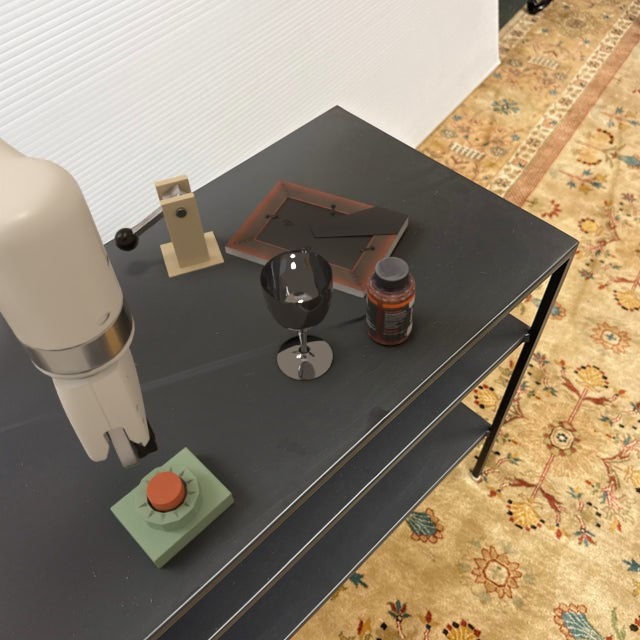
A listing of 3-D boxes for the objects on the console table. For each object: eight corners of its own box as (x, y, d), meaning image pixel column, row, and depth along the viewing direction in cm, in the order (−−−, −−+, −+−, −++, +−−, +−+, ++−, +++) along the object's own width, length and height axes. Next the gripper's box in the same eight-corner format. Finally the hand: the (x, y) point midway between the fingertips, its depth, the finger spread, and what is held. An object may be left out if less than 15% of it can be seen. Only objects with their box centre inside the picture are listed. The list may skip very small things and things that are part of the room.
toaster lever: (128, 259, 88) (110, 247, 86) (124, 244, 90) (107, 232, 88) (195, 207, 86) (179, 193, 83) (190, 193, 88) (174, 179, 85)
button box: (159, 569, 65) (149, 555, 62) (115, 516, 69) (104, 500, 66) (234, 502, 70) (229, 485, 67) (189, 455, 74) (182, 438, 70)
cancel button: (164, 518, 65) (159, 511, 64) (143, 495, 67) (139, 487, 65) (192, 494, 67) (188, 487, 65) (171, 472, 68) (167, 464, 67)
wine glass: (277, 387, 79) (263, 307, 67) (270, 337, 84) (256, 255, 73) (341, 377, 80) (338, 296, 68) (330, 328, 85) (326, 245, 73)
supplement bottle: (421, 333, 83) (428, 272, 75) (384, 355, 81) (388, 295, 73) (392, 305, 87) (396, 243, 78) (356, 325, 85) (356, 264, 76)
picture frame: (407, 227, 96) (281, 191, 103) (408, 214, 94) (279, 178, 101) (362, 303, 87) (227, 257, 94) (363, 290, 85) (224, 245, 92)
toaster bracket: (171, 282, 91) (148, 213, 81) (161, 250, 96) (139, 181, 86) (225, 267, 93) (209, 197, 83) (214, 236, 97) (197, 166, 87)
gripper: (15, 267, 49) (89, 397, 64) (28, 427, 40) (110, 537, 55) (114, 242, 51) (164, 374, 65) (147, 391, 42) (197, 507, 56)
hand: (139, 448), depth 60 cm, fingers closed
